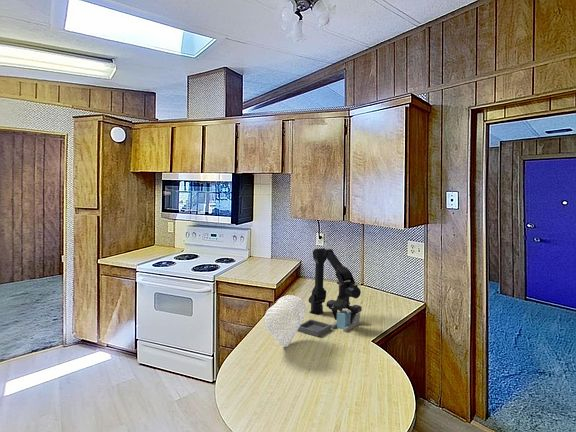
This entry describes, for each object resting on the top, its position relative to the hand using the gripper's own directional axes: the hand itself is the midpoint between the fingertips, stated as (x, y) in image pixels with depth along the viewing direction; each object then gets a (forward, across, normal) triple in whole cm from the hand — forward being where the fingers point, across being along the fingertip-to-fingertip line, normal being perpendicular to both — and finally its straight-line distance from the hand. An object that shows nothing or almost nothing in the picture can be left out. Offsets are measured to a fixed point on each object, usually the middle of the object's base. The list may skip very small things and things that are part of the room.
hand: (343, 321), depth 187 cm
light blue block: (+3, 0, 0) cm, 3 cm away
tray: (+3, -10, -14) cm, 17 cm away
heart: (+3, -10, -39) cm, 40 cm away
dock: (+3, 0, +3) cm, 4 cm away
